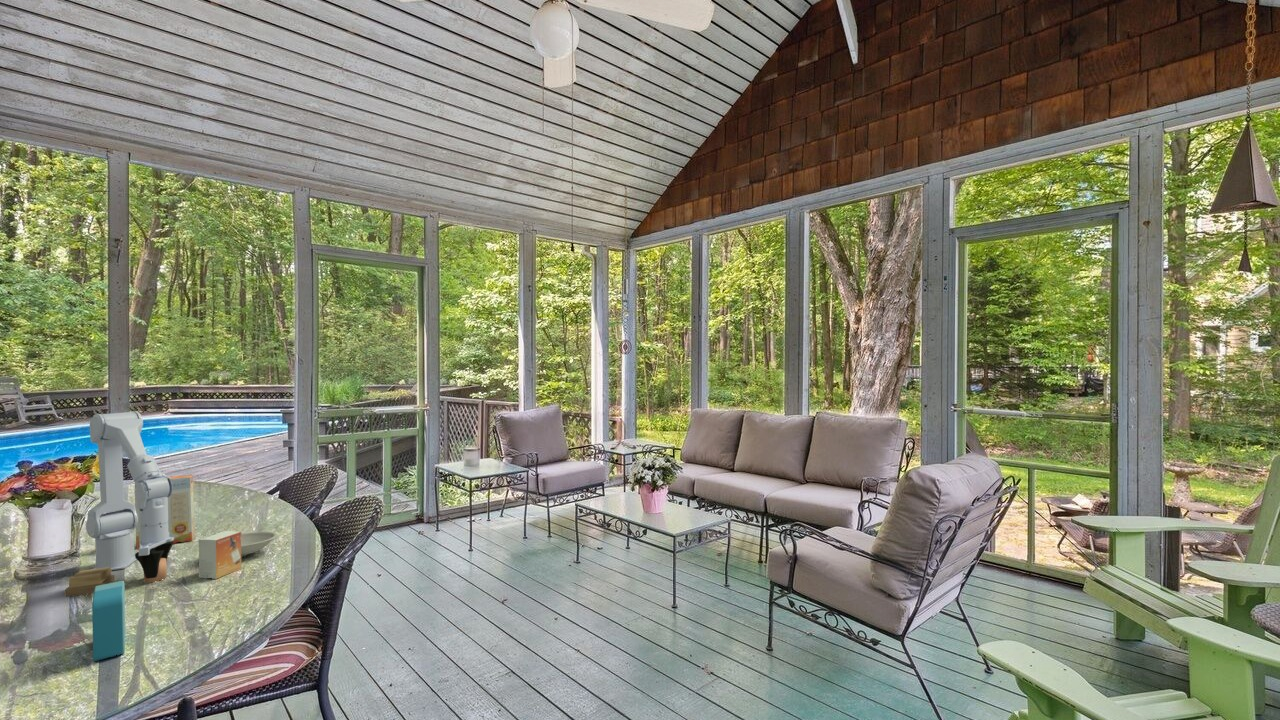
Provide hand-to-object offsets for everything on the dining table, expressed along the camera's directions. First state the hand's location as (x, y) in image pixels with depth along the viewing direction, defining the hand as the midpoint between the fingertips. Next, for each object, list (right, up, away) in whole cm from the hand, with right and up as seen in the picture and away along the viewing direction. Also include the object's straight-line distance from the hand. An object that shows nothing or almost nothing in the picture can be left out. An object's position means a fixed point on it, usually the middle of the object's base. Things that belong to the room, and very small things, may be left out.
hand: (155, 574), depth 153 cm
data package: (+22, -2, -37) cm, 42 cm away
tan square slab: (-12, -2, -6) cm, 13 cm away
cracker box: (-22, -2, +31) cm, 38 cm away
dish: (+11, -1, +18) cm, 21 cm away
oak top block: (-11, 0, -6) cm, 13 cm away
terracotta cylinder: (0, -1, 0) cm, 1 cm away
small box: (+15, -2, +4) cm, 15 cm away
